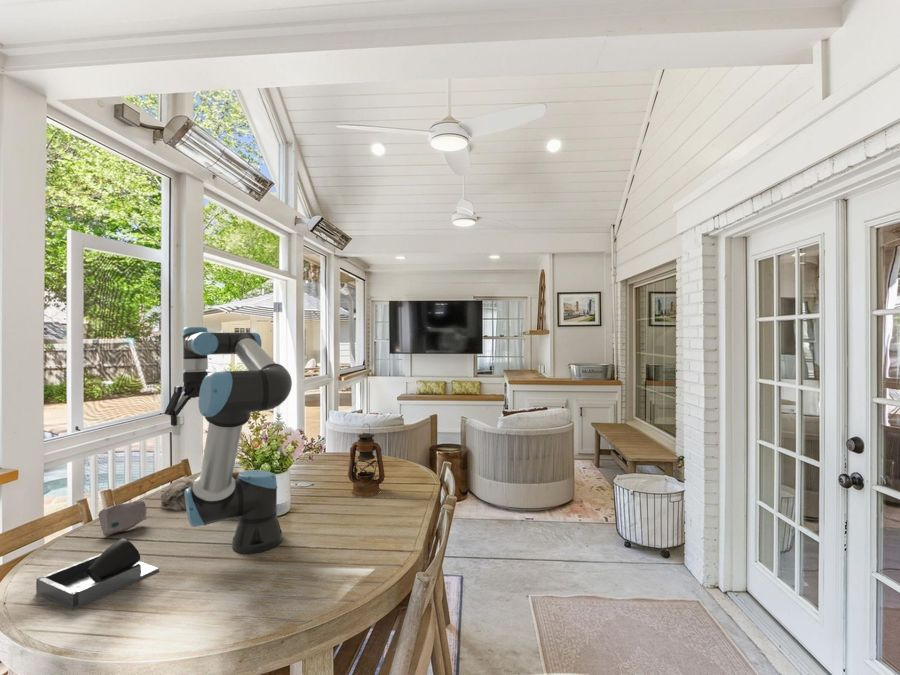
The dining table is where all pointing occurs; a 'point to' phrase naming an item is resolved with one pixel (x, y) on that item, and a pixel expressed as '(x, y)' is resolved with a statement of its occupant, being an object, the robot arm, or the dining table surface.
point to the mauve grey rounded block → (122, 517)
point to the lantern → (366, 479)
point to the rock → (175, 495)
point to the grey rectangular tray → (86, 583)
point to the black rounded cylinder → (114, 560)
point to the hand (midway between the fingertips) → (195, 431)
